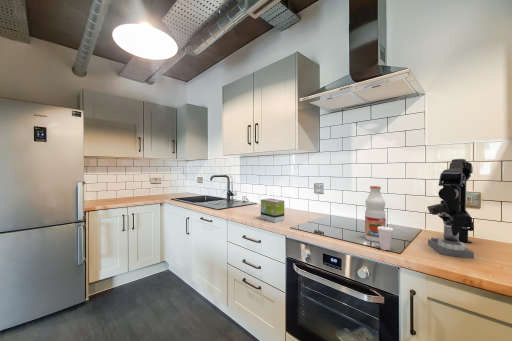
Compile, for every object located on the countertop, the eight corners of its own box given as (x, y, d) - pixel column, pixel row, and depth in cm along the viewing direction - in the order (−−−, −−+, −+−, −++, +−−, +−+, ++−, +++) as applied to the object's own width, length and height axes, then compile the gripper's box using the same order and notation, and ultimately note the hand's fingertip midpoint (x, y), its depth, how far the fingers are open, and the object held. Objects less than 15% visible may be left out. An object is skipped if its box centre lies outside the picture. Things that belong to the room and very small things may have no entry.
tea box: (260, 219, 159) (260, 199, 159) (269, 217, 166) (269, 198, 166) (275, 223, 148) (275, 201, 148) (284, 221, 154) (284, 200, 154)
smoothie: (394, 248, 101) (394, 218, 101) (391, 252, 96) (392, 221, 96) (379, 245, 105) (379, 216, 105) (375, 249, 100) (375, 218, 100)
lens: (441, 237, 100) (441, 220, 100) (455, 239, 99) (455, 221, 99) (446, 241, 96) (447, 222, 96) (461, 242, 94) (461, 223, 94)
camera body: (427, 244, 107) (428, 235, 107) (455, 247, 104) (455, 237, 104) (441, 254, 94) (441, 244, 94) (473, 258, 91) (473, 247, 91)
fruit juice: (377, 236, 119) (378, 185, 119) (389, 242, 110) (389, 187, 110) (361, 236, 119) (361, 185, 119) (371, 242, 109) (371, 186, 109)
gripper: (422, 195, 109) (421, 227, 109) (439, 200, 91) (438, 238, 91) (449, 196, 105) (449, 229, 105) (473, 202, 87) (472, 241, 87)
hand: (451, 233), depth 97 cm, fingers closed on lens, 5 cm apart
